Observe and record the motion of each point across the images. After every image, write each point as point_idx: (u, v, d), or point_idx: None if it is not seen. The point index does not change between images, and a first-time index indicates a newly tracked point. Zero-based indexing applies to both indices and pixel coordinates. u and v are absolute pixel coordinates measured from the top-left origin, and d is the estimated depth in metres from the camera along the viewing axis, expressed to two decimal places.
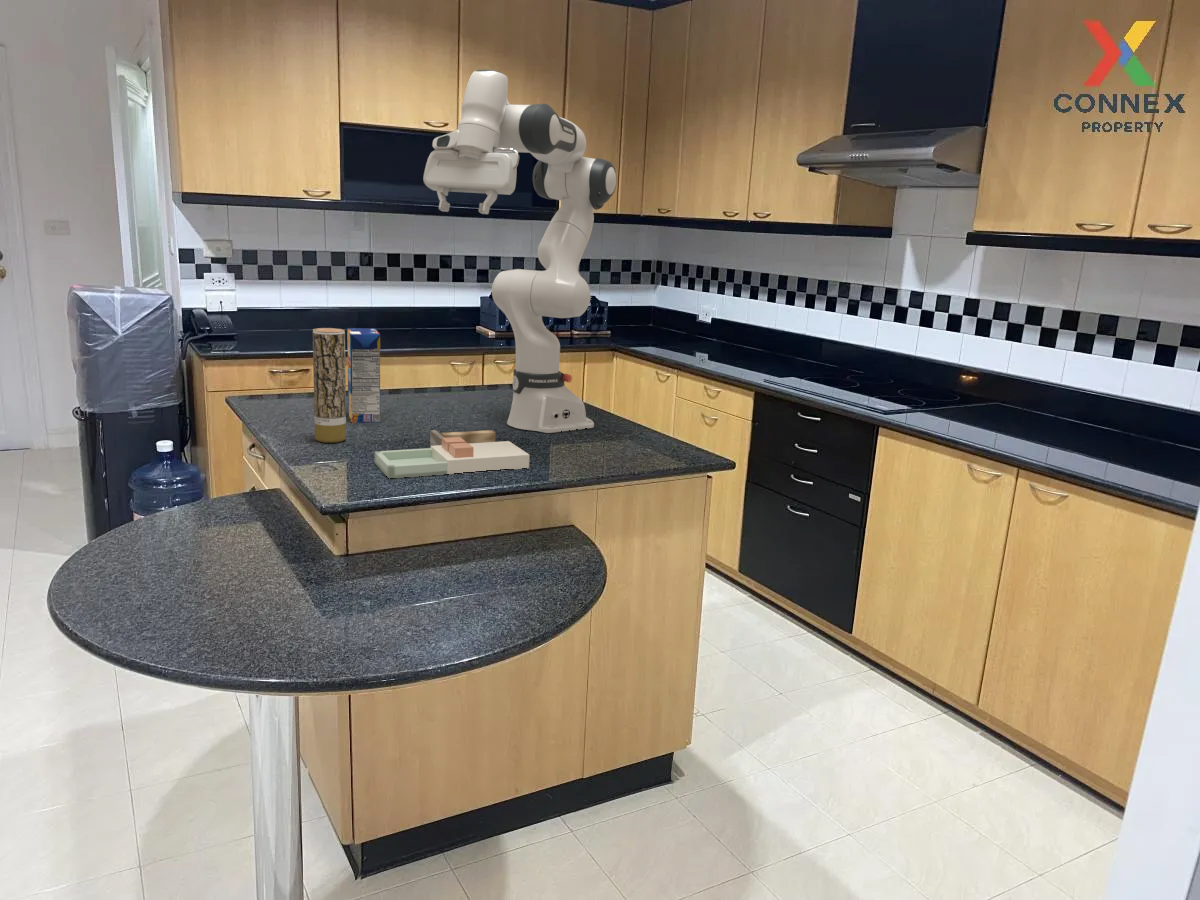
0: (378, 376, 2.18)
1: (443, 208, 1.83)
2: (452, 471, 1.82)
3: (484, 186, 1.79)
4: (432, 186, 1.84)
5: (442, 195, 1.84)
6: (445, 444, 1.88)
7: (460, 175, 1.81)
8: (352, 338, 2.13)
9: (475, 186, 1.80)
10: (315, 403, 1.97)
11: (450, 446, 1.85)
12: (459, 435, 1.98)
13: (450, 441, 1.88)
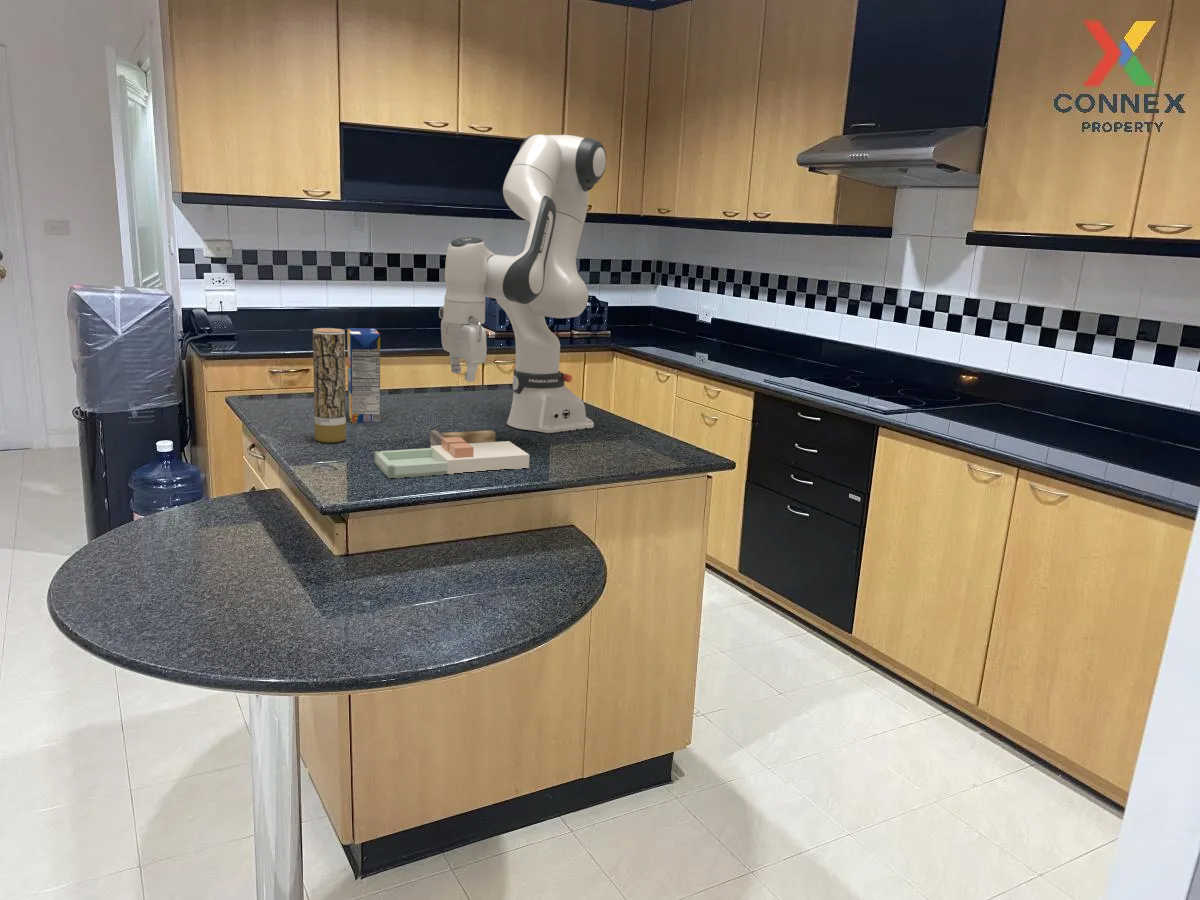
0: (378, 376, 2.18)
1: (453, 372, 2.00)
2: (452, 471, 1.82)
3: (463, 358, 1.90)
4: None
5: (454, 359, 2.00)
6: (445, 444, 1.88)
7: (454, 345, 1.95)
8: (352, 338, 2.13)
9: (460, 357, 1.92)
10: (315, 403, 1.97)
11: (450, 446, 1.85)
12: (459, 435, 1.98)
13: (450, 441, 1.88)
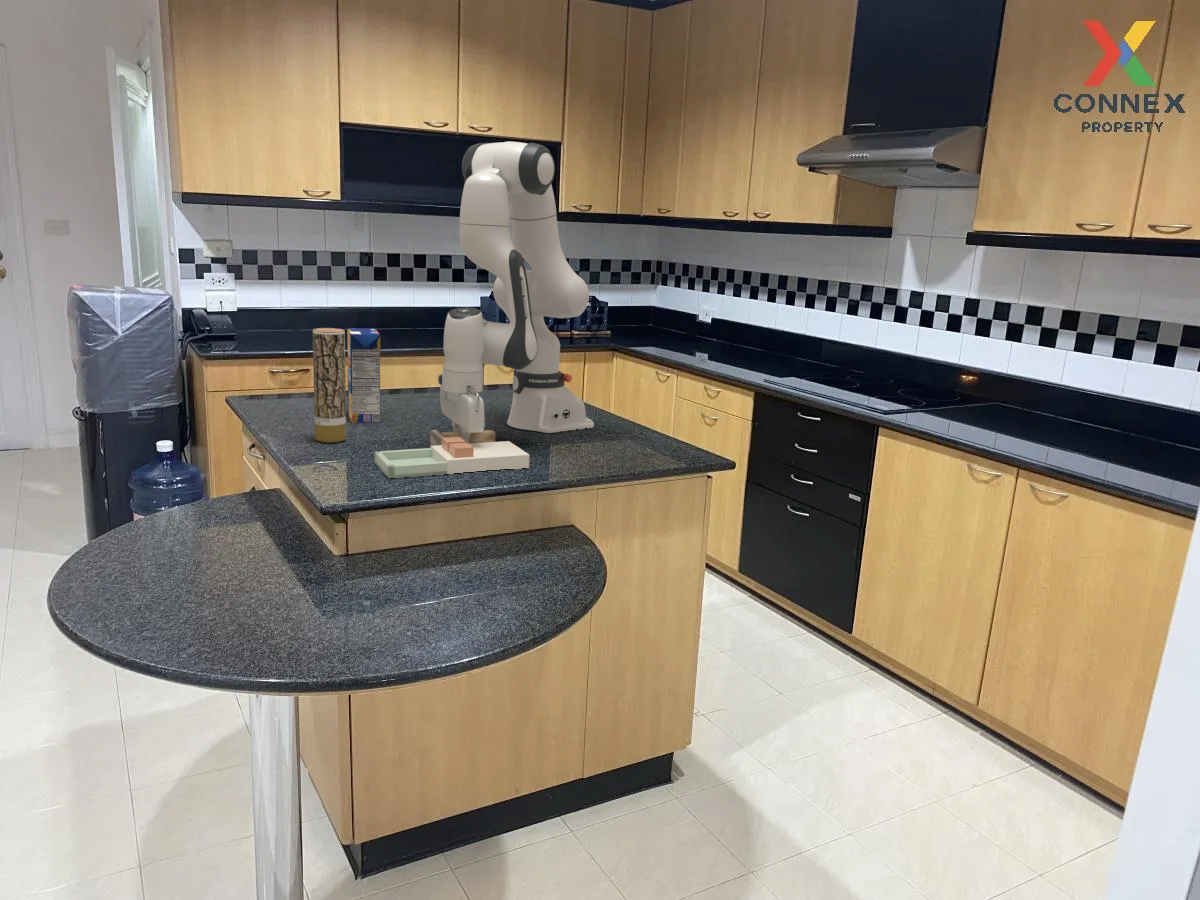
0: (378, 376, 2.18)
1: None
2: (452, 471, 1.82)
3: (461, 426, 1.94)
4: None
5: (457, 426, 2.02)
6: (445, 444, 1.88)
7: (452, 412, 1.99)
8: (352, 338, 2.13)
9: (458, 425, 1.96)
10: (315, 403, 1.97)
11: (450, 446, 1.85)
12: (459, 435, 1.98)
13: (450, 441, 1.88)
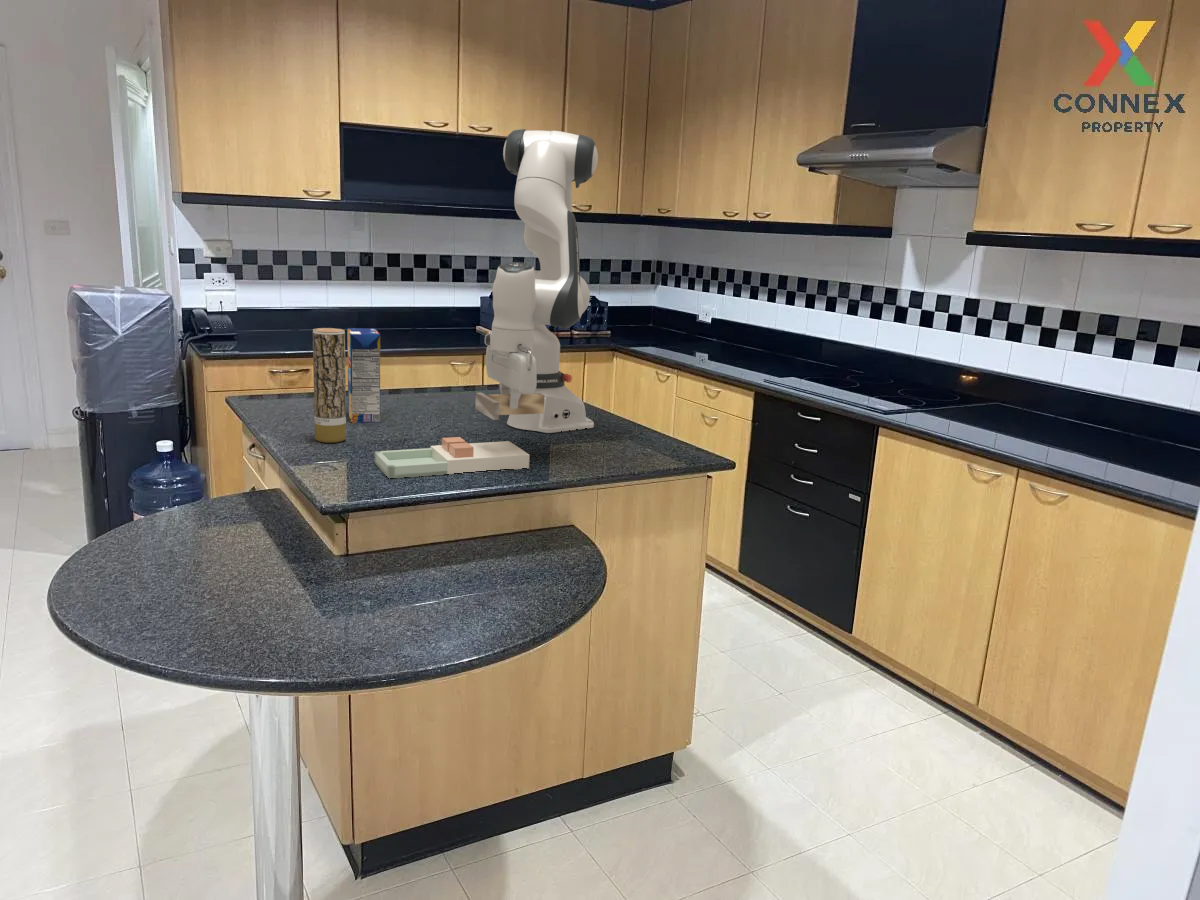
0: (378, 376, 2.18)
1: None
2: (452, 471, 1.82)
3: (511, 387, 1.84)
4: None
5: (504, 389, 1.92)
6: (445, 444, 1.88)
7: (501, 373, 1.89)
8: (352, 338, 2.13)
9: (507, 386, 1.86)
10: (315, 403, 1.97)
11: (450, 446, 1.85)
12: (507, 397, 1.88)
13: (450, 441, 1.88)
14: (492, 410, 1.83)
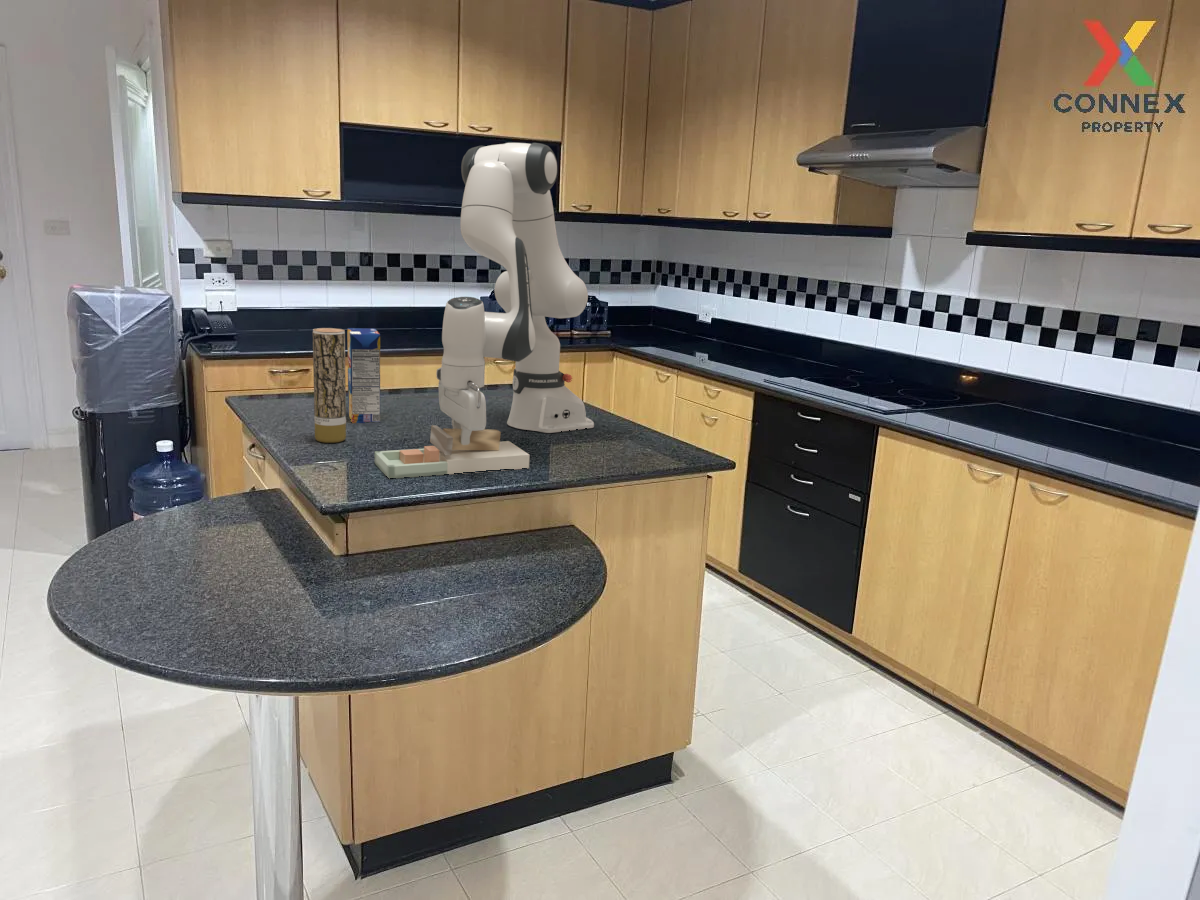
0: (378, 376, 2.18)
1: None
2: (452, 471, 1.82)
3: (461, 424, 1.81)
4: None
5: (456, 424, 1.89)
6: None
7: (452, 408, 1.86)
8: (352, 338, 2.13)
9: (458, 422, 1.83)
10: (315, 403, 1.97)
11: None
12: None
13: None
14: (446, 445, 1.80)
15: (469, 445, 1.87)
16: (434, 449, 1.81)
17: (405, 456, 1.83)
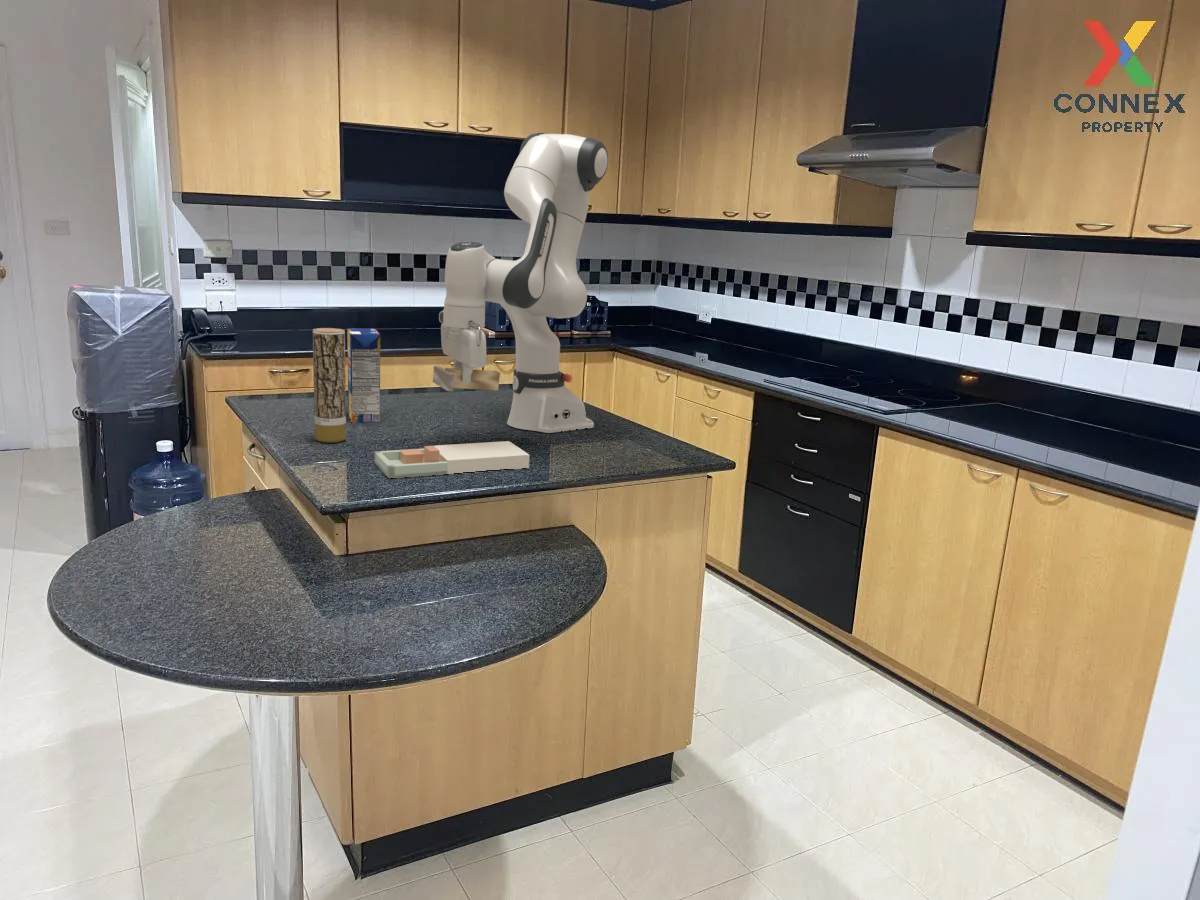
0: (378, 376, 2.18)
1: None
2: (452, 471, 1.82)
3: (463, 362, 1.91)
4: None
5: (458, 365, 1.98)
6: None
7: (454, 349, 1.95)
8: (352, 338, 2.13)
9: (460, 361, 1.92)
10: (315, 403, 1.97)
11: None
12: None
13: None
14: (447, 382, 1.90)
15: (470, 384, 1.96)
16: (434, 449, 1.81)
17: (405, 456, 1.83)
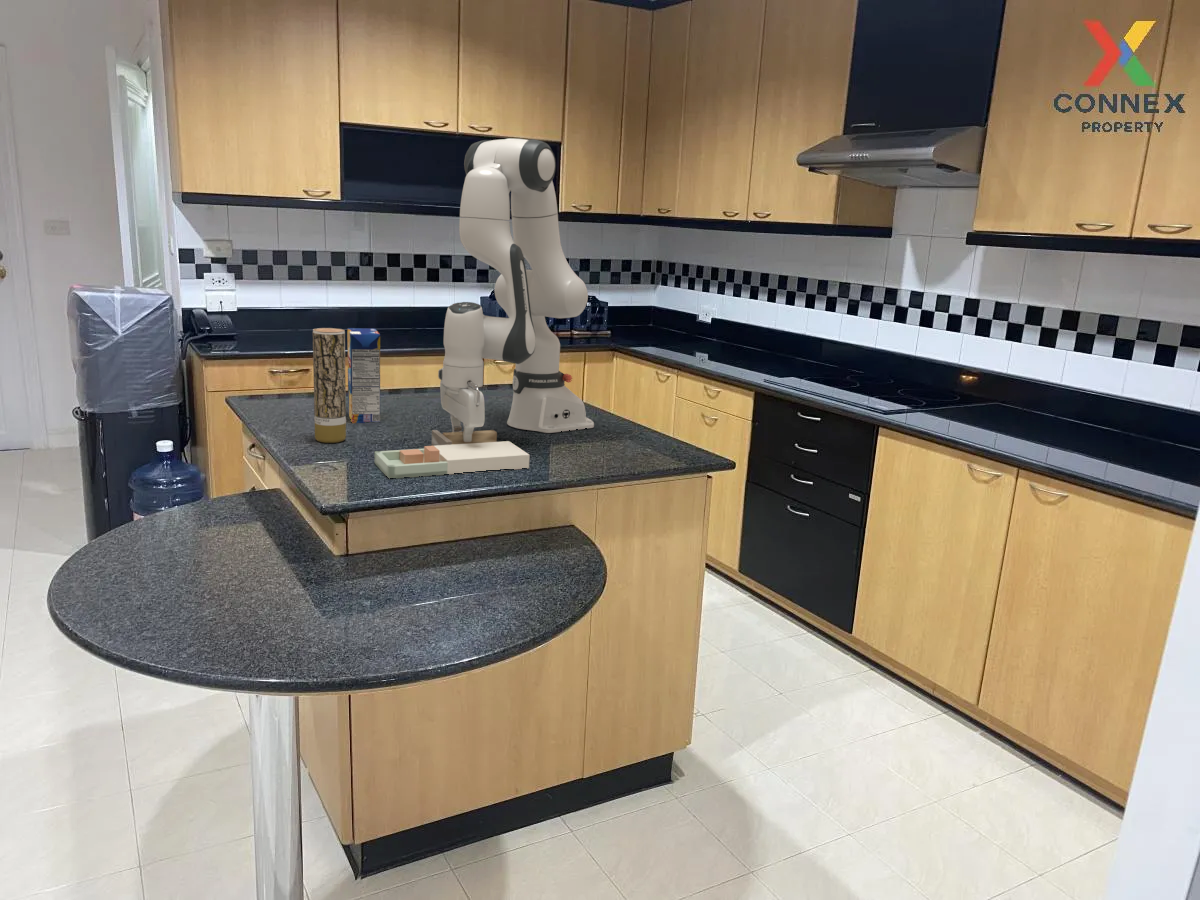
0: (378, 376, 2.18)
1: None
2: (452, 471, 1.82)
3: (461, 421, 1.94)
4: None
5: (455, 420, 2.03)
6: None
7: (453, 406, 1.99)
8: (352, 338, 2.13)
9: (459, 419, 1.96)
10: (315, 403, 1.97)
11: None
12: (460, 435, 1.99)
13: None
14: None
15: None
16: (434, 449, 1.81)
17: (405, 456, 1.83)
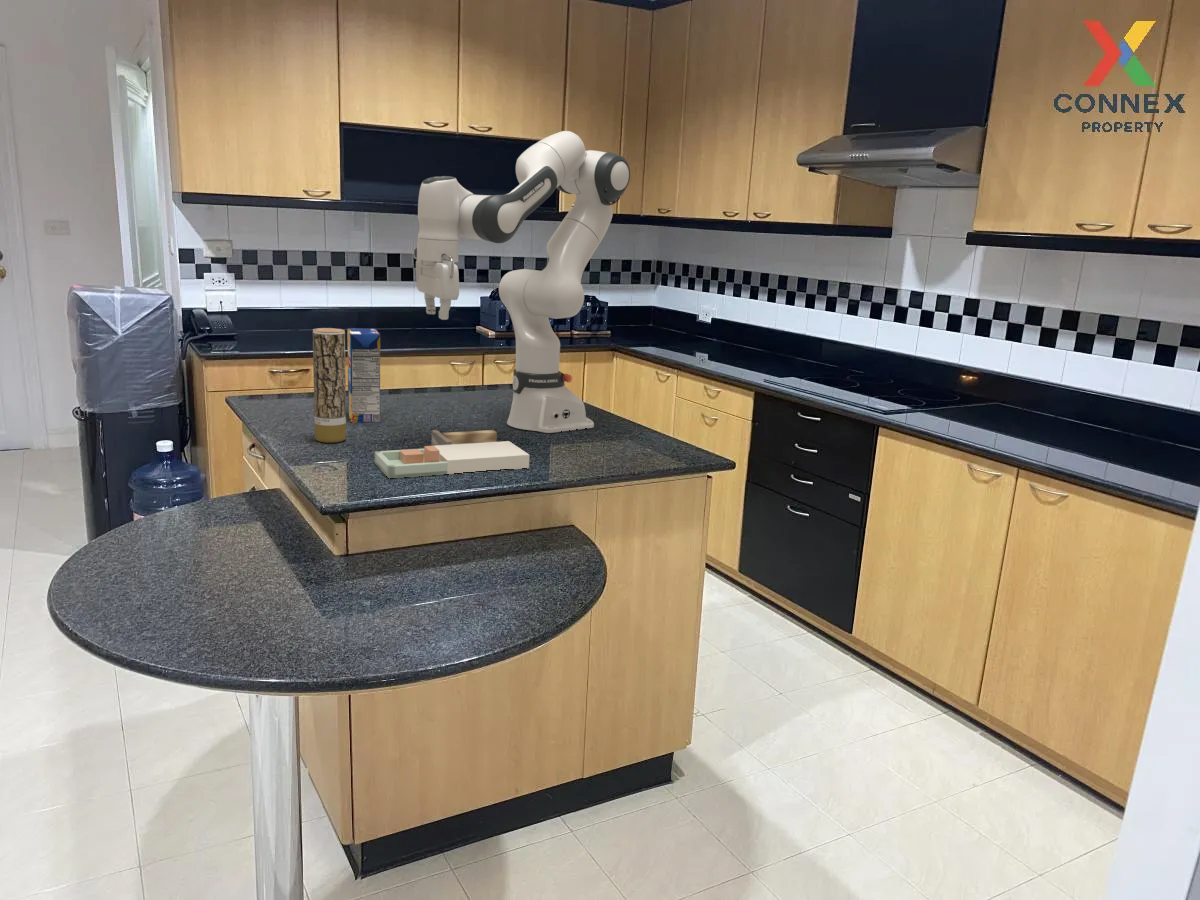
0: (378, 376, 2.18)
1: (428, 313, 2.01)
2: (452, 471, 1.82)
3: (436, 296, 1.91)
4: None
5: (429, 299, 2.01)
6: None
7: (428, 284, 1.96)
8: (352, 338, 2.13)
9: (433, 295, 1.93)
10: (315, 403, 1.97)
11: None
12: (460, 435, 1.99)
13: None
14: None
15: None
16: (434, 449, 1.81)
17: (405, 456, 1.83)
